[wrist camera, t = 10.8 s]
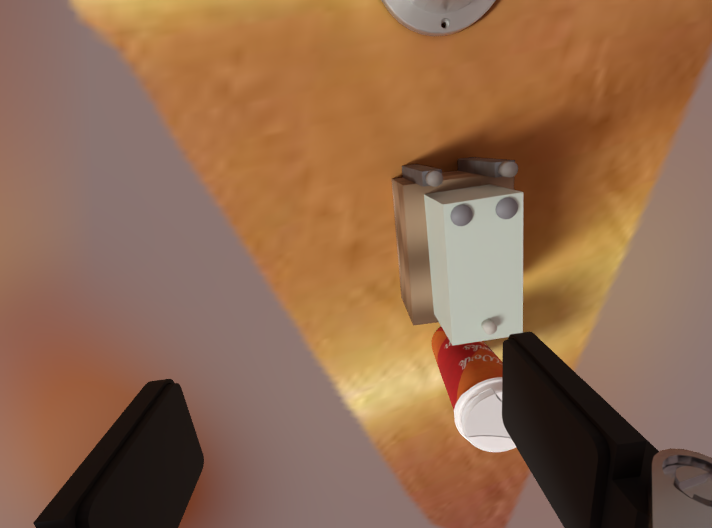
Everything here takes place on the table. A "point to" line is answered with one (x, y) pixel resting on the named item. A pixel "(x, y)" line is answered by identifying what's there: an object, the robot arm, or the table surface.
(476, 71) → the table surface
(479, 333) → the white block with knobs
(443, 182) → the brown boxy piece
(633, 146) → the table surface
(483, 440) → the paper cup
